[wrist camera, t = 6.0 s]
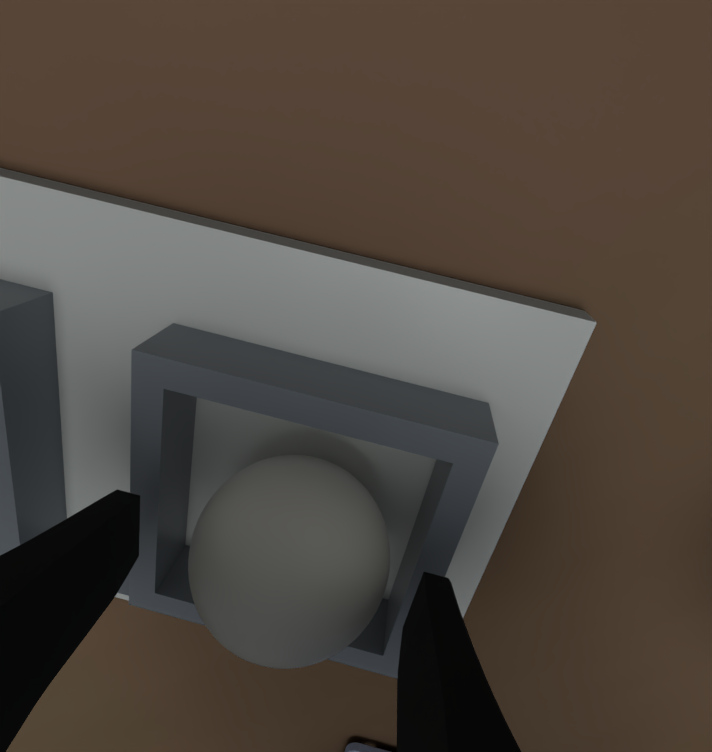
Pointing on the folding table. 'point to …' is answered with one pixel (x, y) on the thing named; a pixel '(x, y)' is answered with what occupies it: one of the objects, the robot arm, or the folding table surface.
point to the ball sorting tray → (261, 386)
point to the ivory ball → (289, 561)
